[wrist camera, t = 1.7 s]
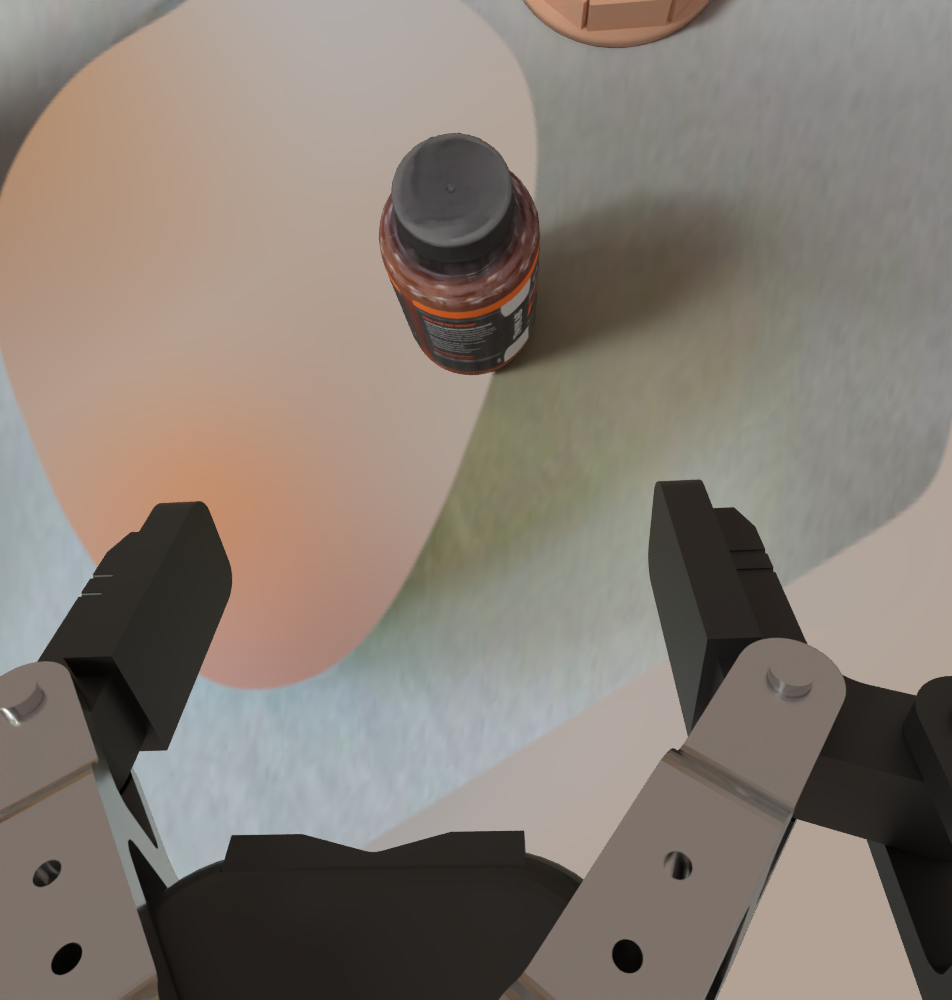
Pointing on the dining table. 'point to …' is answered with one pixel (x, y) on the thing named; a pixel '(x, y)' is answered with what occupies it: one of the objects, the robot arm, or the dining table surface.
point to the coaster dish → (616, 19)
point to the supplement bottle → (462, 253)
